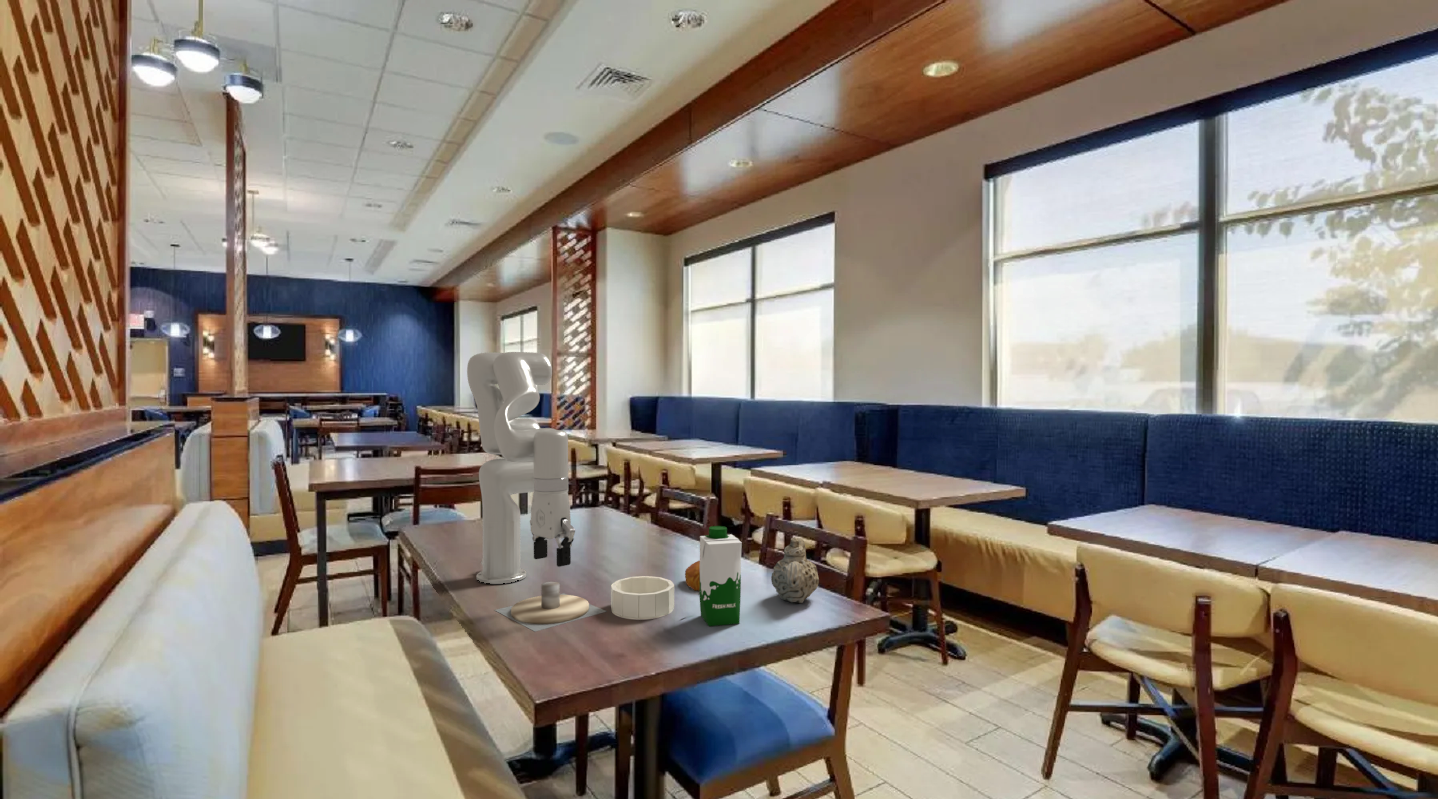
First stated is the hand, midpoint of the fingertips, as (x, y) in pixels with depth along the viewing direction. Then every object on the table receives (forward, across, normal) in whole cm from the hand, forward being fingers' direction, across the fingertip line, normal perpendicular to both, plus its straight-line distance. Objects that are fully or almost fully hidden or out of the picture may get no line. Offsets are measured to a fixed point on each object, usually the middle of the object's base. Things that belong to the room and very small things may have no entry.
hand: (551, 561), depth 153 cm
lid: (+11, -1, 0) cm, 11 cm away
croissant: (+12, +8, +42) cm, 45 cm away
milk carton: (+13, +28, +25) cm, 40 cm away
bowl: (+12, +12, +16) cm, 24 cm away
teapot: (+13, +30, +49) cm, 59 cm away
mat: (+12, -1, 0) cm, 12 cm away
